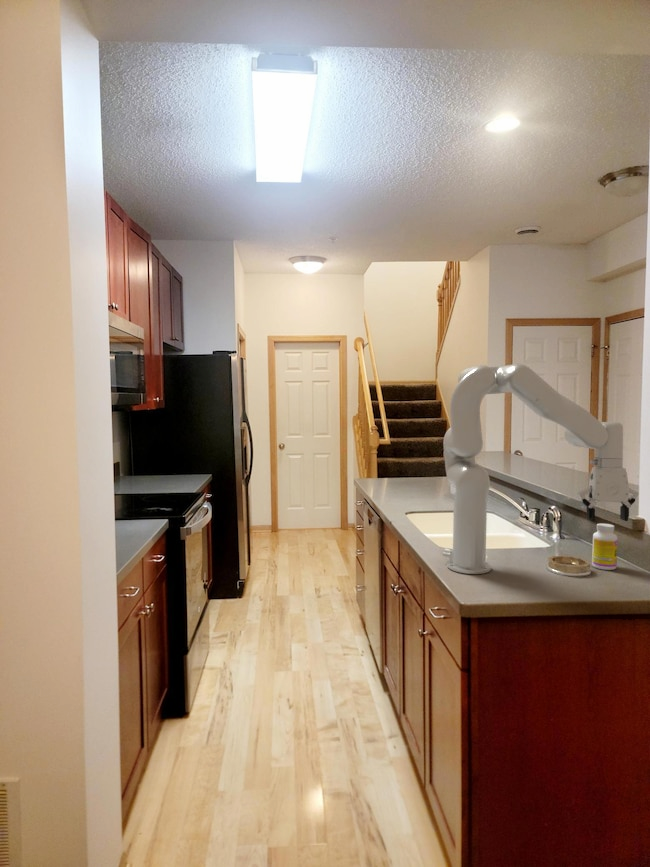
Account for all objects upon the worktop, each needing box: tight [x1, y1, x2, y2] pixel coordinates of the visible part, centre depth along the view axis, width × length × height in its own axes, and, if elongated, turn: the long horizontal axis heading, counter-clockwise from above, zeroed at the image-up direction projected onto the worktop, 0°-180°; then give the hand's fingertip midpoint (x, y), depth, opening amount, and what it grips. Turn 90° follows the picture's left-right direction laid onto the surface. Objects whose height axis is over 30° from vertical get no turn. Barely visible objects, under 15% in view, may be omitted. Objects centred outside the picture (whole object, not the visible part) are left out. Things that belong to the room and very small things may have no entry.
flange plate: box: [546, 555, 592, 578], centre depth 162 cm, size 12×12×3 cm
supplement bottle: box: [591, 523, 618, 571], centre depth 164 cm, size 7×7×13 cm
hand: (607, 520), depth 164 cm, fingers open, 9 cm apart
